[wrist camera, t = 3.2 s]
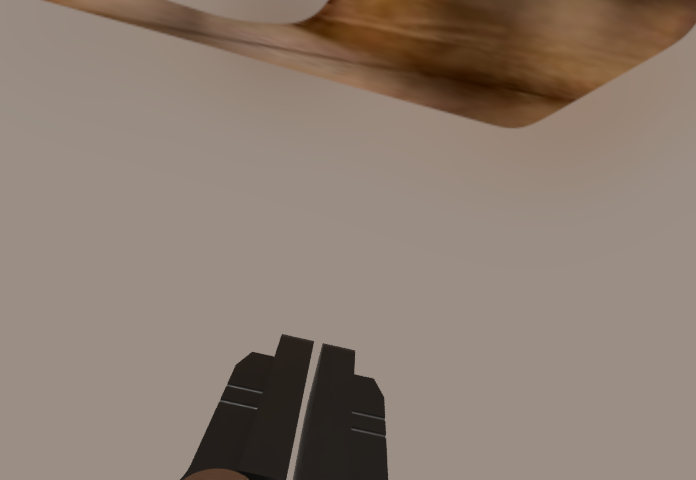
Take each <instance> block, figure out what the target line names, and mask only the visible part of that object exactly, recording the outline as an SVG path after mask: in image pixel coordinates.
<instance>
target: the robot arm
mask: <svg viewBox="0 0 696 480" xmlns="http://www.w3.org/2000/svg"><path fill="white" fill-rule="evenodd" d="M313 344H314V341H311V340H306V339H301V338H297V337H292V336H288V335H283V334H282V336H281V338H280V342H279V345H278V348H277V351H276V354H275V357H273V356H268V355H264V354H260V353H255V352H252V353H250V354H249V355H248V356H247V357H245V358H244V359H243V360H241V361H240V362H239V363H238V364H236V366H235V368H234V370H233V372H232V375H231V377H230V379H229V381H228V384H227V387H226V388H225V390H224V393H223V395H222V397H221V400H220V402H219V404H218V406H217V408H216V410H215V412H214V415H213V417H212V419H211V421H210V423H209V426H208V428H207V430H206V432H205V434H204V437H203V439H202V441H201V443H200V446H199V448H198V450H197V452H196V454H195V456H194V459H193V461H192V463H191V465H190V467H189V469H188V471H187V472H186V473H185V475H184V476H183V477H182V478H181V479H180V480H286V478H287V473H288V468H289V462H290V458H291V453H292V448H293V443H294V438H295V433H296V428H297V423H298V418H299V413H300V408H301V403H302V398H303V393H304V388H305V383H306V378H307V373H308V369H309V363H310V359H311V354H312V349H313ZM354 365H355V350H351V349H346V348H341V347H337V346H333V345H328V344H324V343H323V345H322V348H321V352H320V356H319V360H318V364H317V368H316V372H315V377H314V380H313V384H312V388H311V392H310V396H309V400H308V404H307V409H306V414H305V418H304V423H303V428H302V434H301V439H300V444H299V449H298V455H297V460H296V466H295V471H294V476H293V480H388V468H387V448H386V438H385V435H386V427H385V421H384V420H385V406H384V396H383V394H382V393H381V391H380V389H379V387H378V386H377V384H376V382H375V380H374V379H373V378H368V377H363V376H359V375H355V374H354Z"/></svg>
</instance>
